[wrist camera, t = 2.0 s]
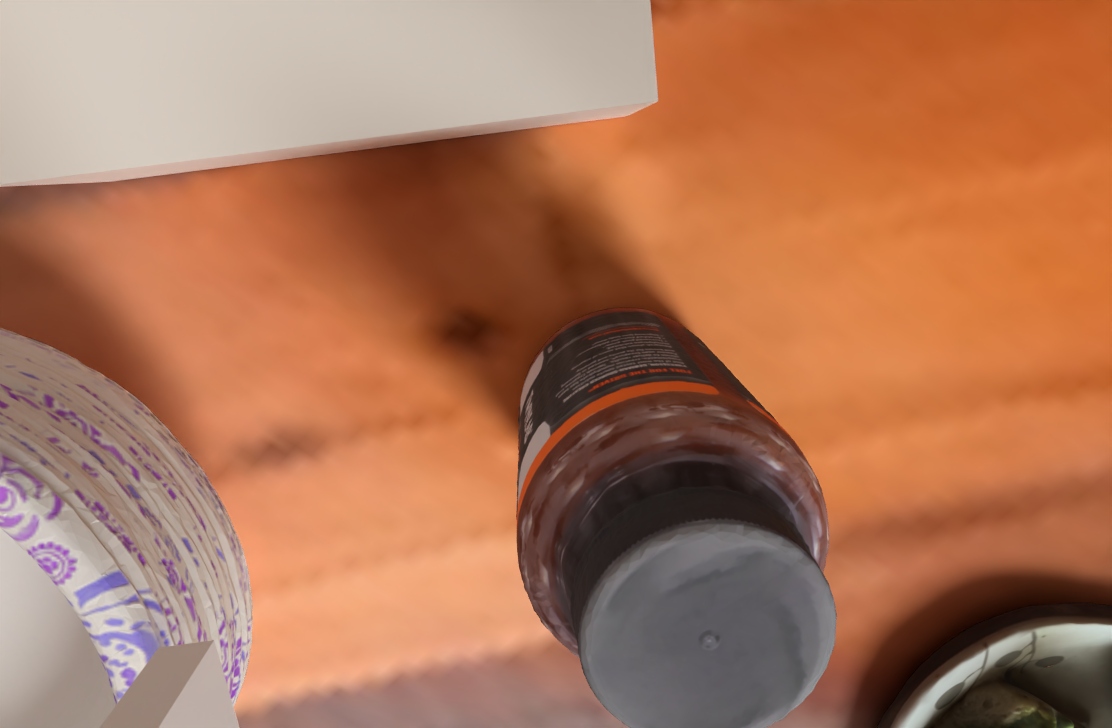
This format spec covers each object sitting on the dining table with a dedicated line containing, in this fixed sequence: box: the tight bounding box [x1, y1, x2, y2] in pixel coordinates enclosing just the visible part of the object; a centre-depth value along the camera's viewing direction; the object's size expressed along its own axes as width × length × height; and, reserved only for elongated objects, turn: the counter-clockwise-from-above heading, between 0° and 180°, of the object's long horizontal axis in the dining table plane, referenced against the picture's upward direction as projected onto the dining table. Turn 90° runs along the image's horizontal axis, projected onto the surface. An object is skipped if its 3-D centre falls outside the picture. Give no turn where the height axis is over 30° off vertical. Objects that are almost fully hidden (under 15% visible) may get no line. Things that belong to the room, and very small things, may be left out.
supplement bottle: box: [516, 308, 837, 728], centre depth 16 cm, size 6×6×11 cm
